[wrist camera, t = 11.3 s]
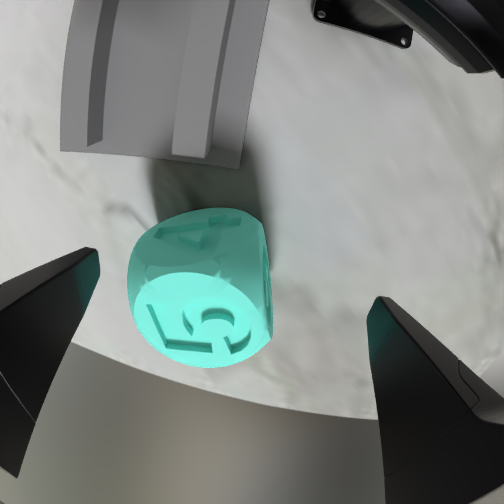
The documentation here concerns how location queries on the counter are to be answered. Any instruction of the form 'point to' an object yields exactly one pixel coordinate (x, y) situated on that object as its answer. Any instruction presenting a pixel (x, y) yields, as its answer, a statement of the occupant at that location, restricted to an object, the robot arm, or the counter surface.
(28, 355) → the robot arm
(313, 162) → the counter surface
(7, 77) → the counter surface
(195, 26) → the holder
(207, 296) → the decorative dice
